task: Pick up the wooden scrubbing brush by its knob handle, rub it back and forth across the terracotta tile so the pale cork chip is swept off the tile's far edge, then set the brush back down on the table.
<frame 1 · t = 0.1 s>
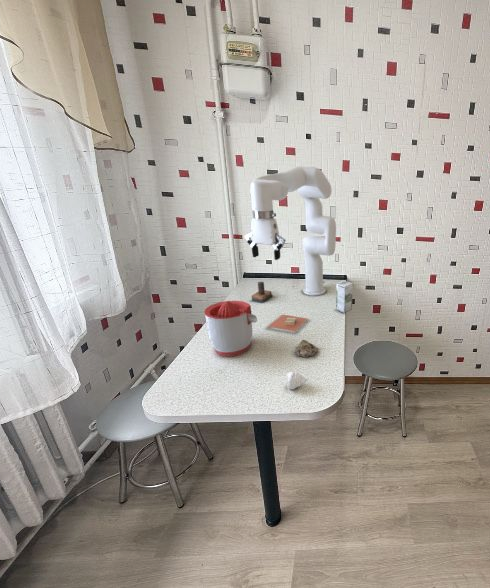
hand: (266, 257, 134), 31 cm above the table, tool pointing down, fingers open, 9 cm apart
citrus juicer: (235, 349, 127), on the table
brush: (262, 298, 173), on the table
tile: (288, 324, 148), on the table
garlic bulb: (297, 387, 108), on the table
syrup box: (344, 310, 165), on the table
cork chip: (290, 322, 147), point 1 cm above the table, touching tile
mineral rock: (306, 351, 128), on the table
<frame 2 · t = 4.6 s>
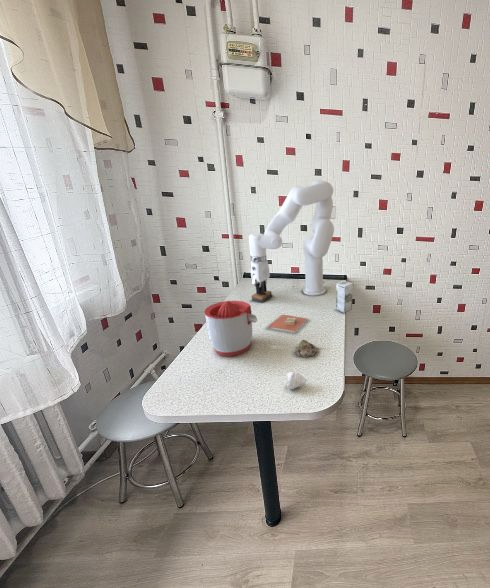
hand: (261, 292, 172), 4 cm above the table, tool pointing down, fingers closed on brush, 3 cm apart
brush: (262, 298, 173), on the table, touching gripper
everything else where it was.
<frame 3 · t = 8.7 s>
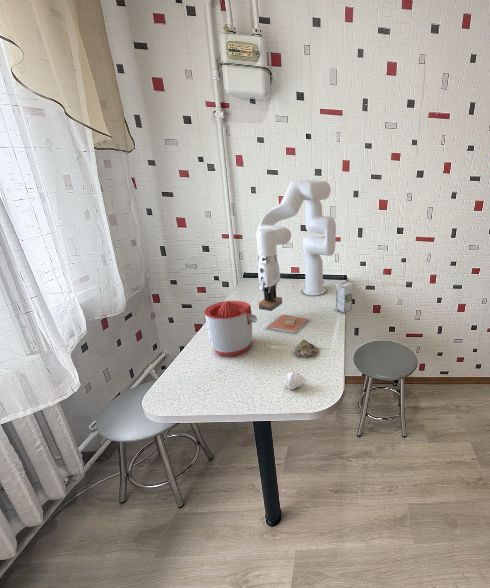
hand: (270, 298, 145), 11 cm above the table, tool pointing down, fingers closed on brush, 3 cm apart
brush: (270, 306, 146), point 8 cm above the table, touching gripper
everything else where it was.
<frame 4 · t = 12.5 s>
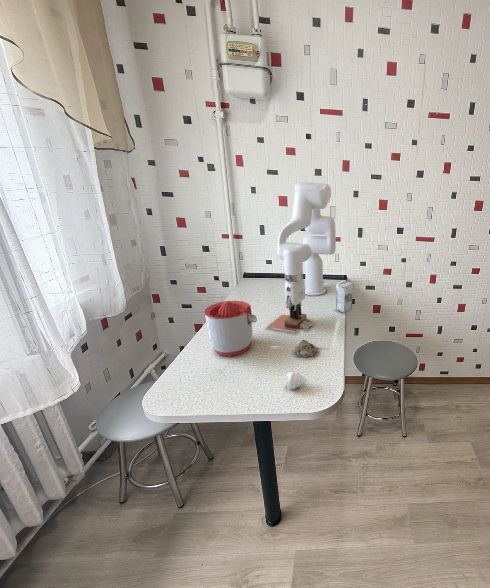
hand: (295, 316, 145), 5 cm above the table, tool pointing down, fingers closed on brush, 3 cm apart
brush: (295, 323, 147), point 1 cm above the table, touching gripper
cork chip: (305, 327, 145), point 1 cm above the table, tilted 15°
everything else where it was.
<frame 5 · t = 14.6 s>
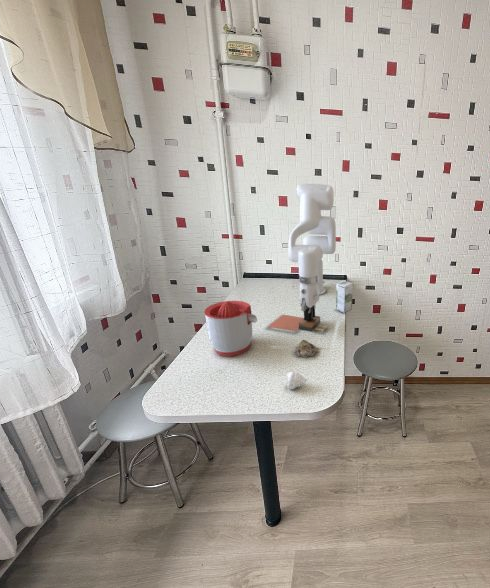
hand: (309, 318, 144), 5 cm above the table, tool pointing down, fingers closed on brush, 3 cm apart
brush: (309, 325, 145), point 1 cm above the table, touching gripper
cork chip: (320, 330, 144), on the table
everything else where it was.
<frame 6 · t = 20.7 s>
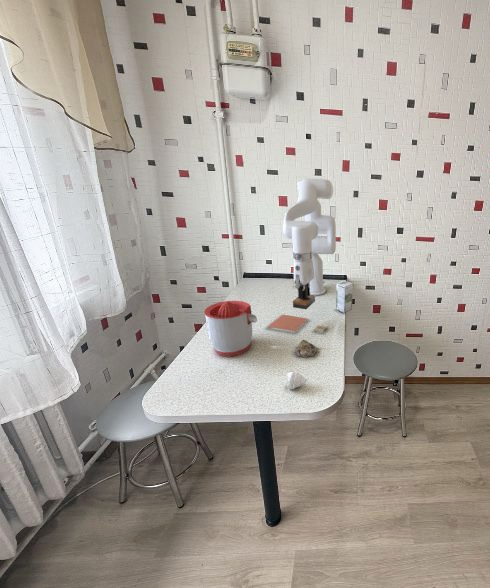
hand: (304, 296, 141), 14 cm above the table, tool pointing down, fingers closed on brush, 3 cm apart
brush: (304, 304, 143), point 11 cm above the table, touching gripper
everything else where it was.
when the fingers open (4 cm above the table, at t = 25.7 s): brush stays where it is, on the table.
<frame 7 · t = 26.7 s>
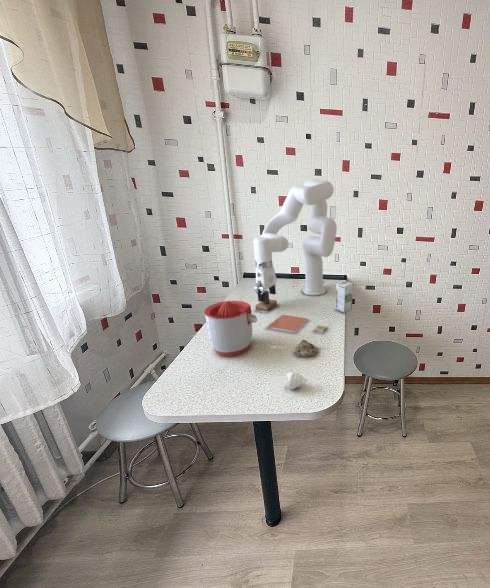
hand: (267, 297, 160), 6 cm above the table, tool pointing down, fingers open, 9 cm apart
brush: (266, 308, 162), on the table
everything else where it was.
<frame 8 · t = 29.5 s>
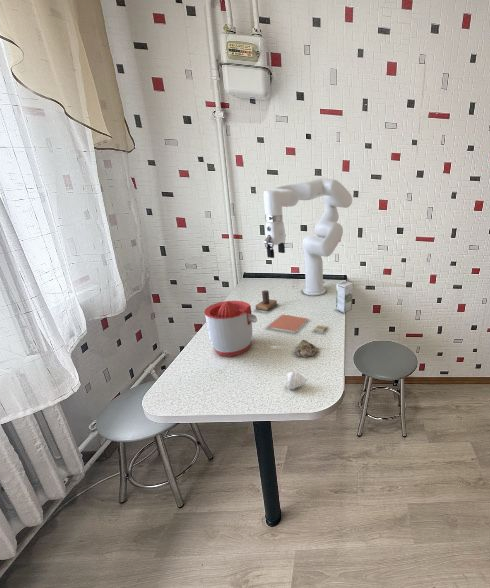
hand: (276, 255, 156), 26 cm above the table, tool pointing down, fingers open, 9 cm apart
nothing on the table moved.
at the end: cork chip inside the target area on the table beside the tile (2.6 cm from its centre), on the table; brush inside the target area (0.2 cm from its centre), on the table; the gripper is holding nothing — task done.
